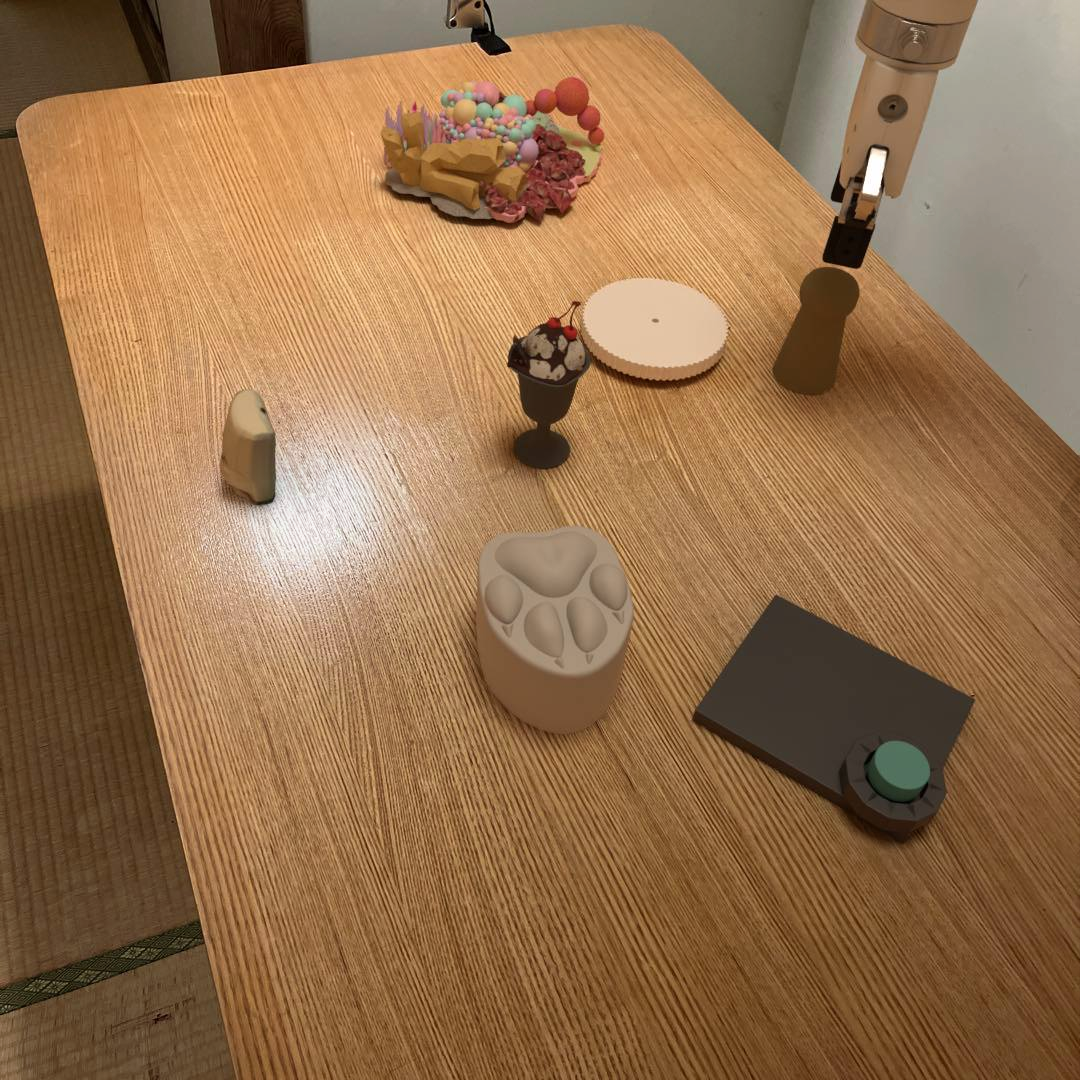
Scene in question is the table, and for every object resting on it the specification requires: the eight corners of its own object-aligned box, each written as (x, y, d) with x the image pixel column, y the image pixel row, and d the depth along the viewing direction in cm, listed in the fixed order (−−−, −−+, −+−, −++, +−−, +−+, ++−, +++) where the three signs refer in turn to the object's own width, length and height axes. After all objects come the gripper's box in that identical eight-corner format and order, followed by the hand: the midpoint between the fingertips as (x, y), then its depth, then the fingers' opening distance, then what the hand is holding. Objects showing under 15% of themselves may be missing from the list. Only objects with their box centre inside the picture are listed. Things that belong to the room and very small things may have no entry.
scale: (978, 714, 78) (994, 691, 76) (909, 860, 70) (925, 839, 68) (771, 605, 84) (780, 580, 81) (686, 728, 76) (693, 704, 73)
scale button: (929, 772, 72) (938, 759, 70) (910, 812, 69) (918, 799, 68) (879, 744, 73) (887, 730, 71) (858, 782, 71) (866, 769, 69)
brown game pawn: (769, 387, 101) (797, 289, 93) (775, 348, 105) (802, 251, 97) (833, 400, 100) (867, 303, 92) (837, 361, 104) (870, 264, 96)
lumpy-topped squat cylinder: (599, 582, 84) (611, 506, 78) (641, 723, 76) (659, 651, 69) (467, 597, 82) (468, 520, 76) (496, 744, 74) (500, 672, 67)
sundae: (593, 441, 95) (612, 300, 83) (555, 486, 91) (570, 344, 79) (529, 412, 97) (539, 271, 85) (489, 455, 93) (494, 313, 81)
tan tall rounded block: (307, 481, 89) (297, 409, 83) (263, 518, 86) (249, 446, 80) (255, 452, 91) (241, 379, 85) (211, 488, 88) (193, 415, 82)
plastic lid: (750, 340, 106) (755, 319, 104) (669, 409, 98) (674, 388, 96) (635, 281, 111) (638, 260, 109) (550, 342, 103) (552, 321, 102)
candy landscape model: (555, 247, 114) (561, 167, 107) (350, 199, 118) (344, 119, 111) (616, 140, 130) (625, 64, 123) (435, 100, 134) (434, 25, 127)
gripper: (965, 90, 73) (884, 299, 85) (962, -8, 84) (891, 190, 97) (854, 69, 73) (791, 280, 86) (866, -25, 85) (808, 173, 97)
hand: (844, 232), depth 91 cm, fingers open, 9 cm apart
